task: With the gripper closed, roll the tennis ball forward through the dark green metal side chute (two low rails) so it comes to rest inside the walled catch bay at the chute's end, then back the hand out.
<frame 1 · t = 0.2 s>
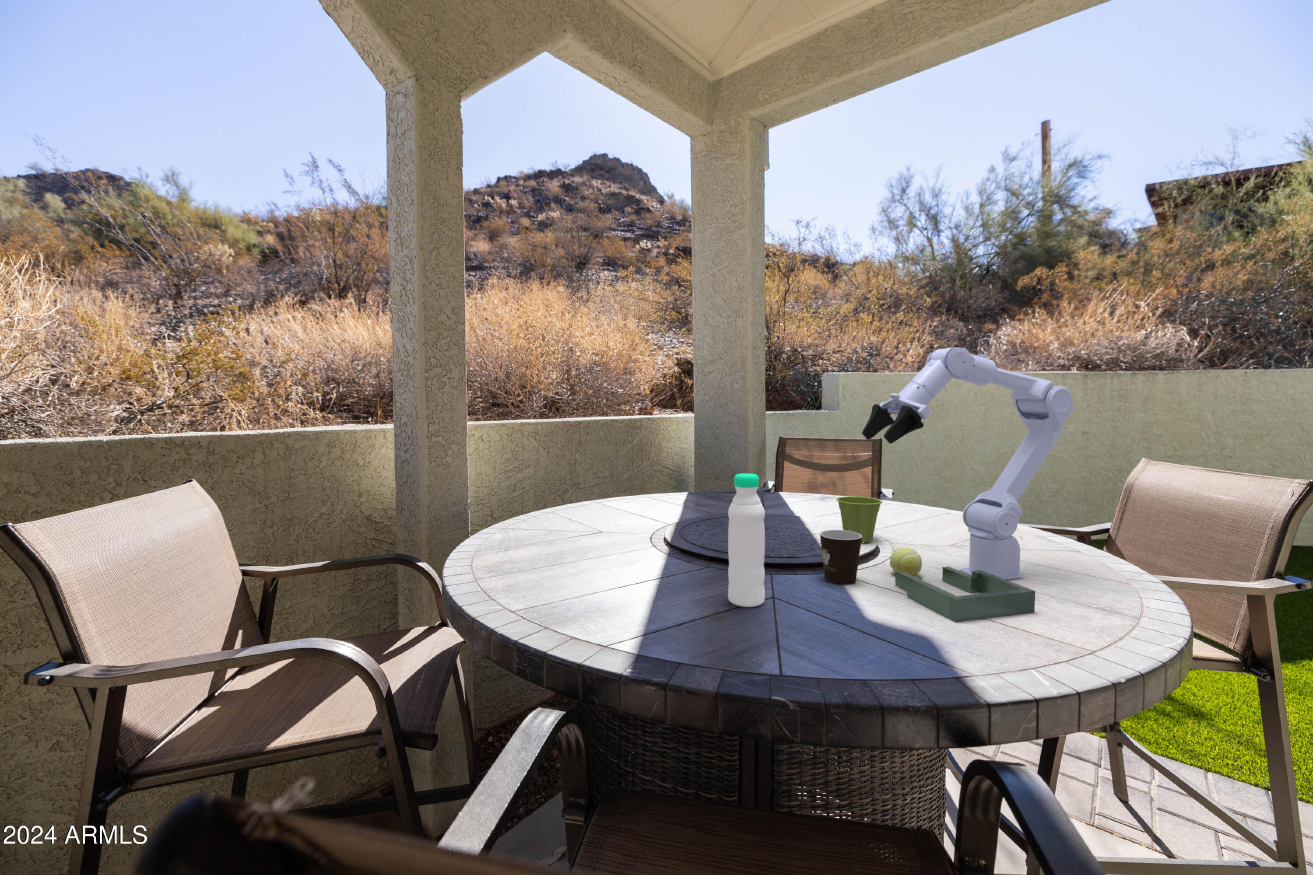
hand: (875, 438, 120), 31 cm above the table, tool tilted 45°, fingers open, 7 cm apart
coffee mug: (839, 578, 127), on the table
tennis ball: (905, 575, 129), on the table
plant pot: (858, 541, 159), on the table
water bottle: (746, 602, 114), on the table
chute bay: (953, 597, 115), on the table
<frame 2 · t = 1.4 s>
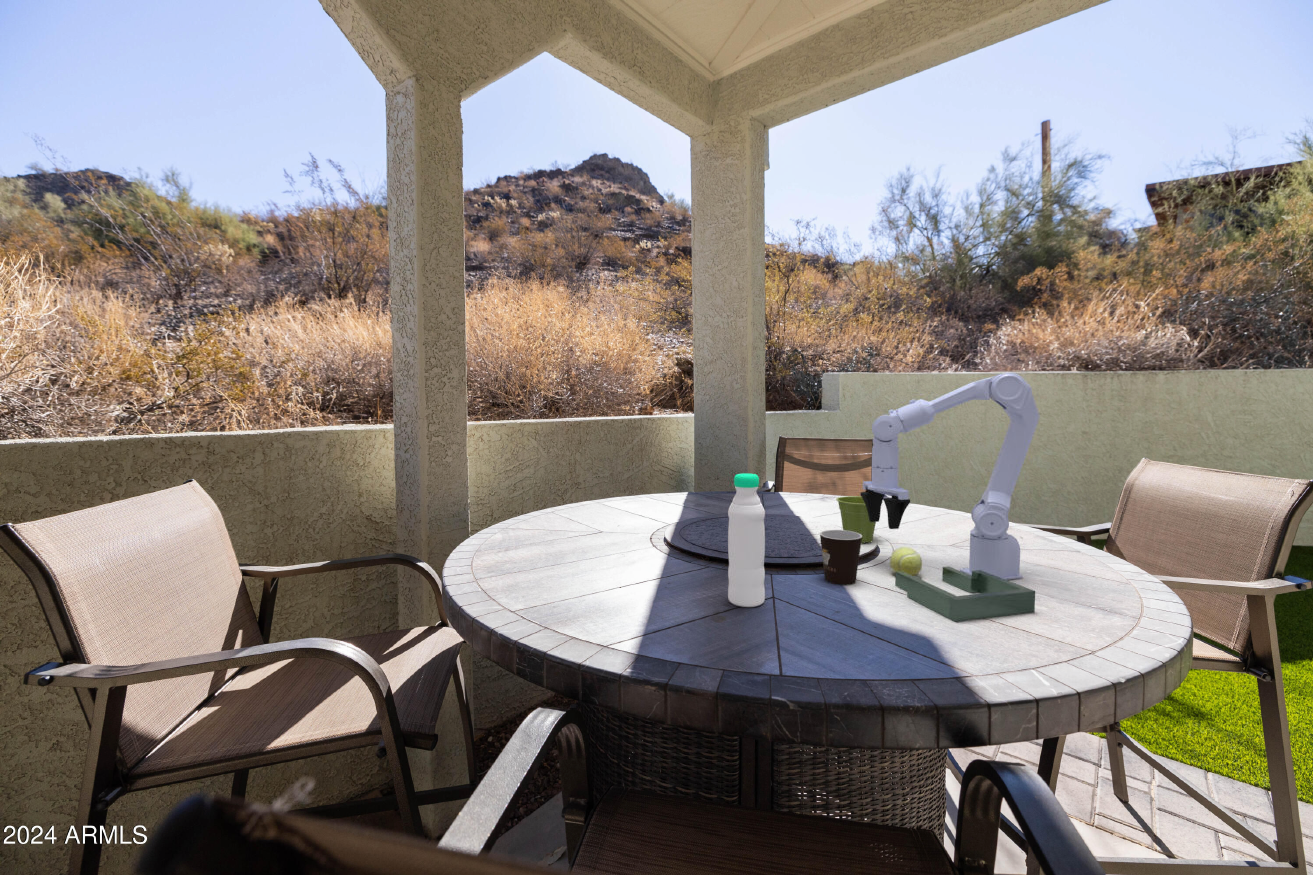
hand: (883, 525, 136), 9 cm above the table, tool pointing down, fingers open, 7 cm apart
nothing on the table moved.
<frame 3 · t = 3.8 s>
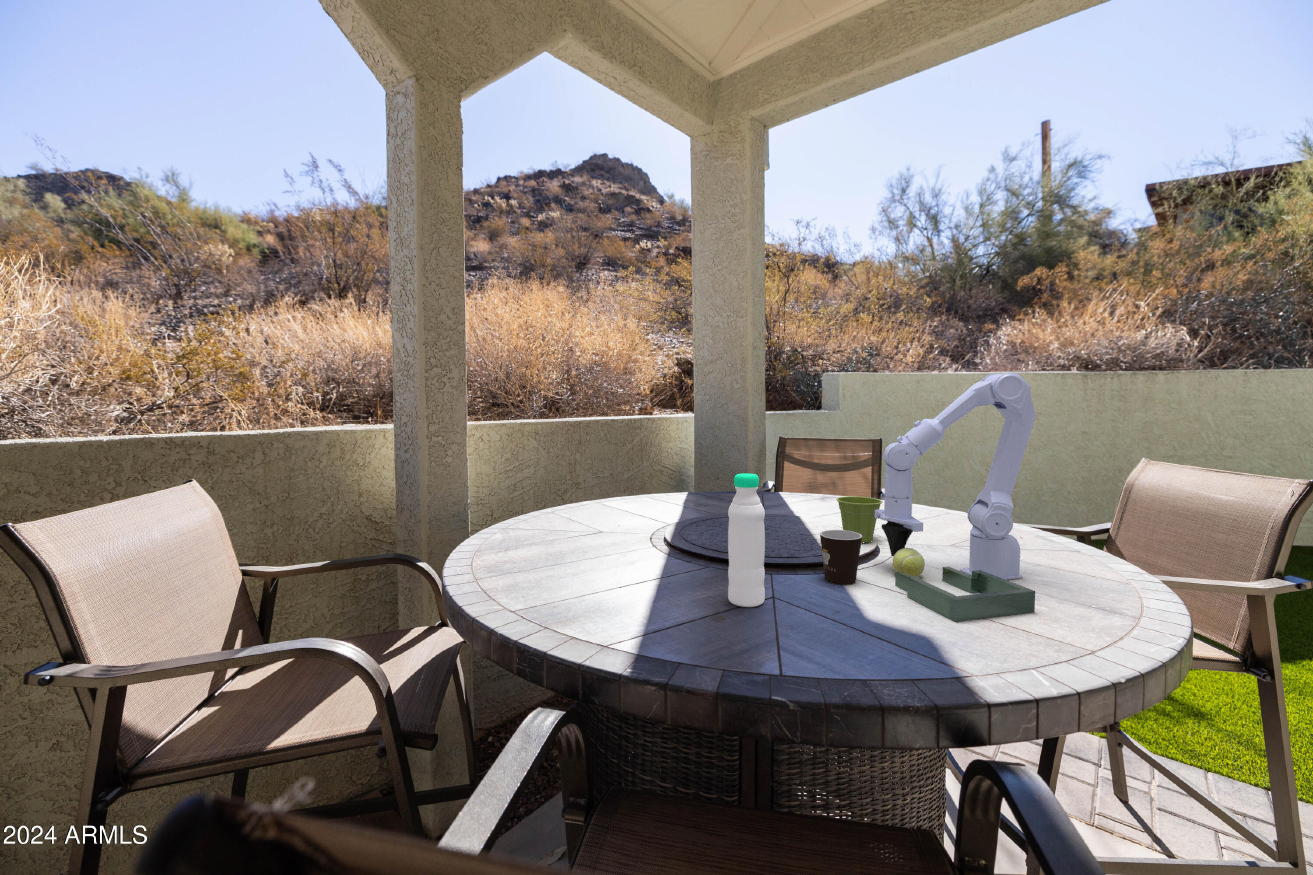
hand: (896, 556, 132), 3 cm above the table, tool pointing down, fingers closed
tennis ball: (907, 577, 128), on the table, touching gripper
everything else where it was.
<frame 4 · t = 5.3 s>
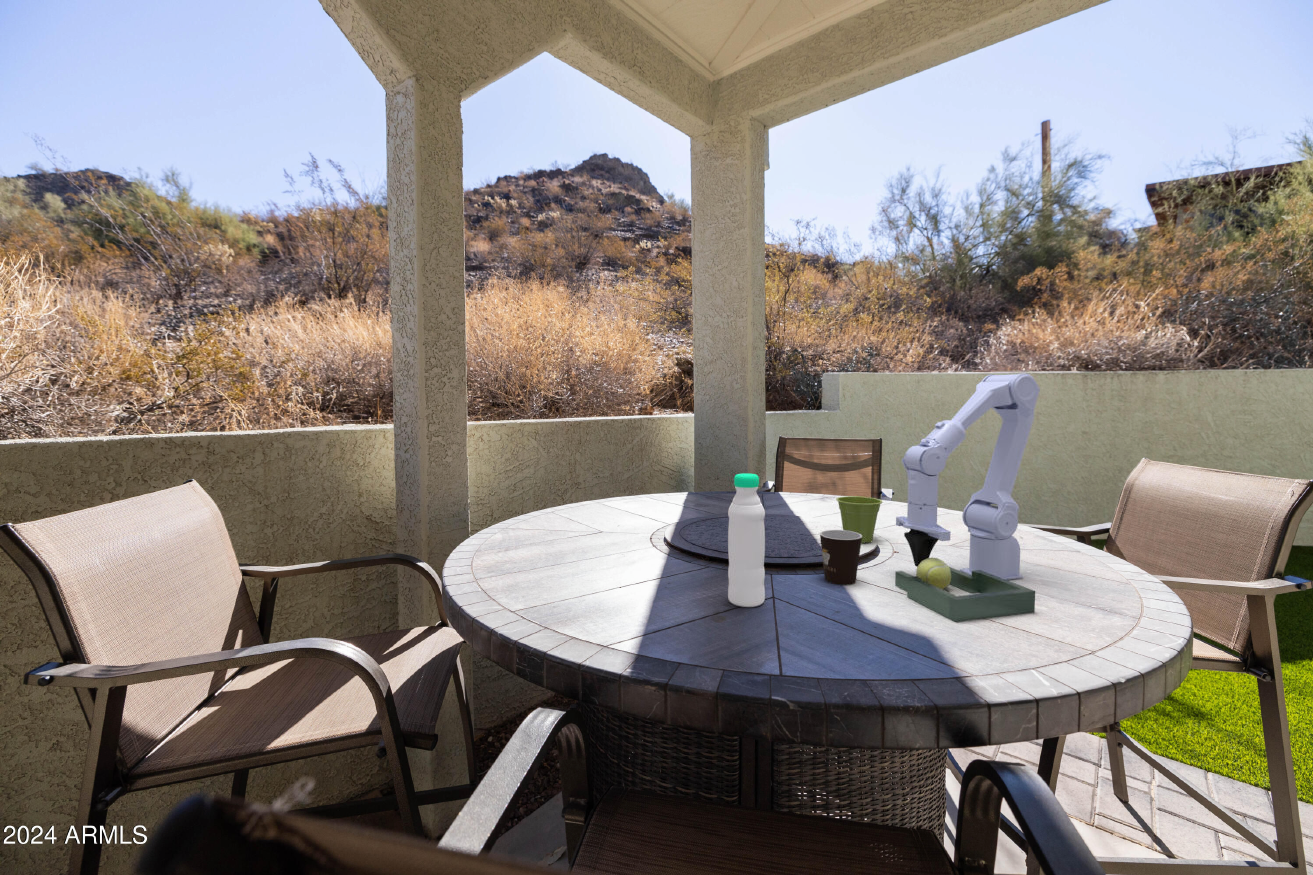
hand: (920, 566, 124), 3 cm above the table, tool pointing down, fingers closed
tennis ball: (932, 588, 120), on the table, touching gripper
everything else where it was.
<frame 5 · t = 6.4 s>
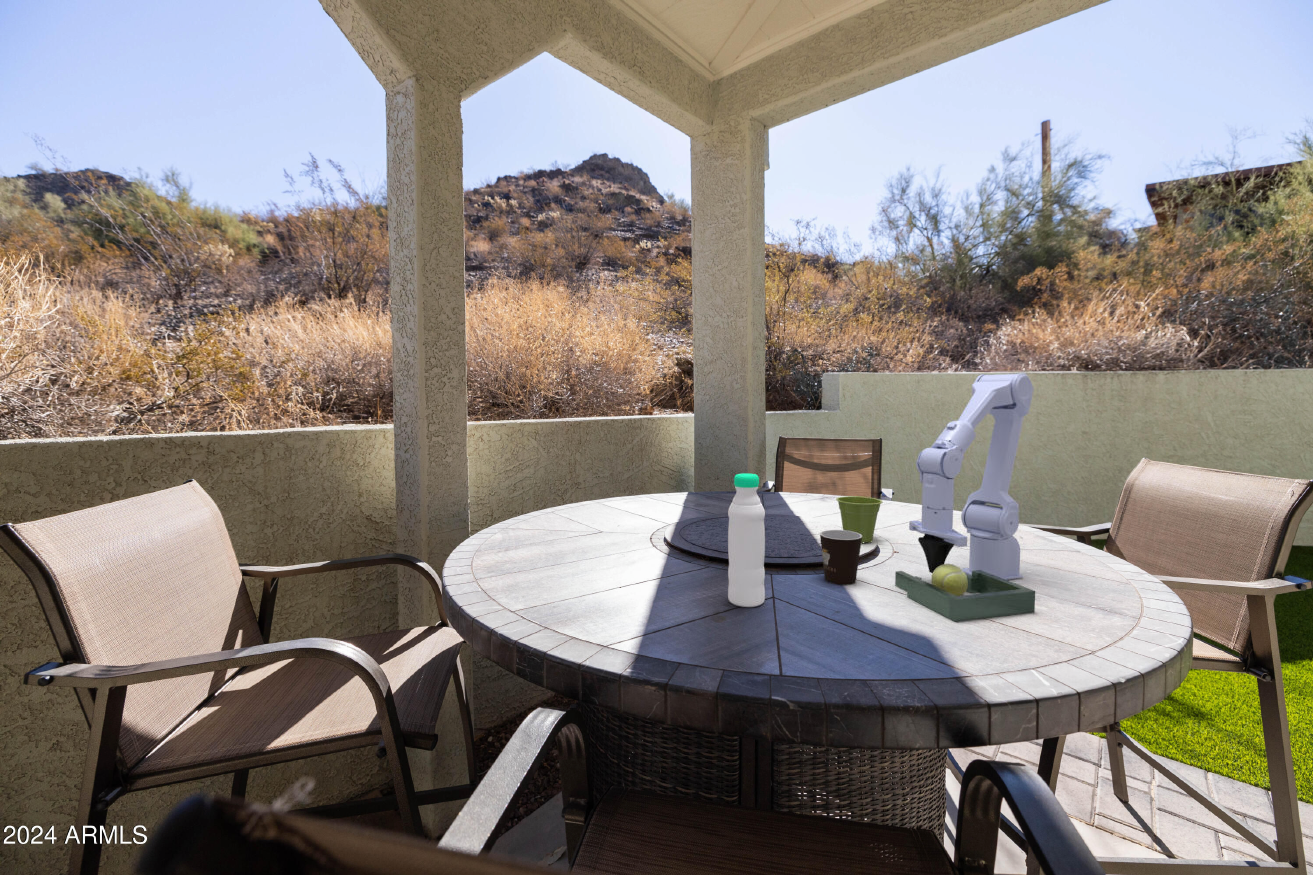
hand: (935, 572, 119), 3 cm above the table, tool pointing down, fingers closed
tennis ball: (948, 596, 116), on the table, touching gripper
everything else where it was.
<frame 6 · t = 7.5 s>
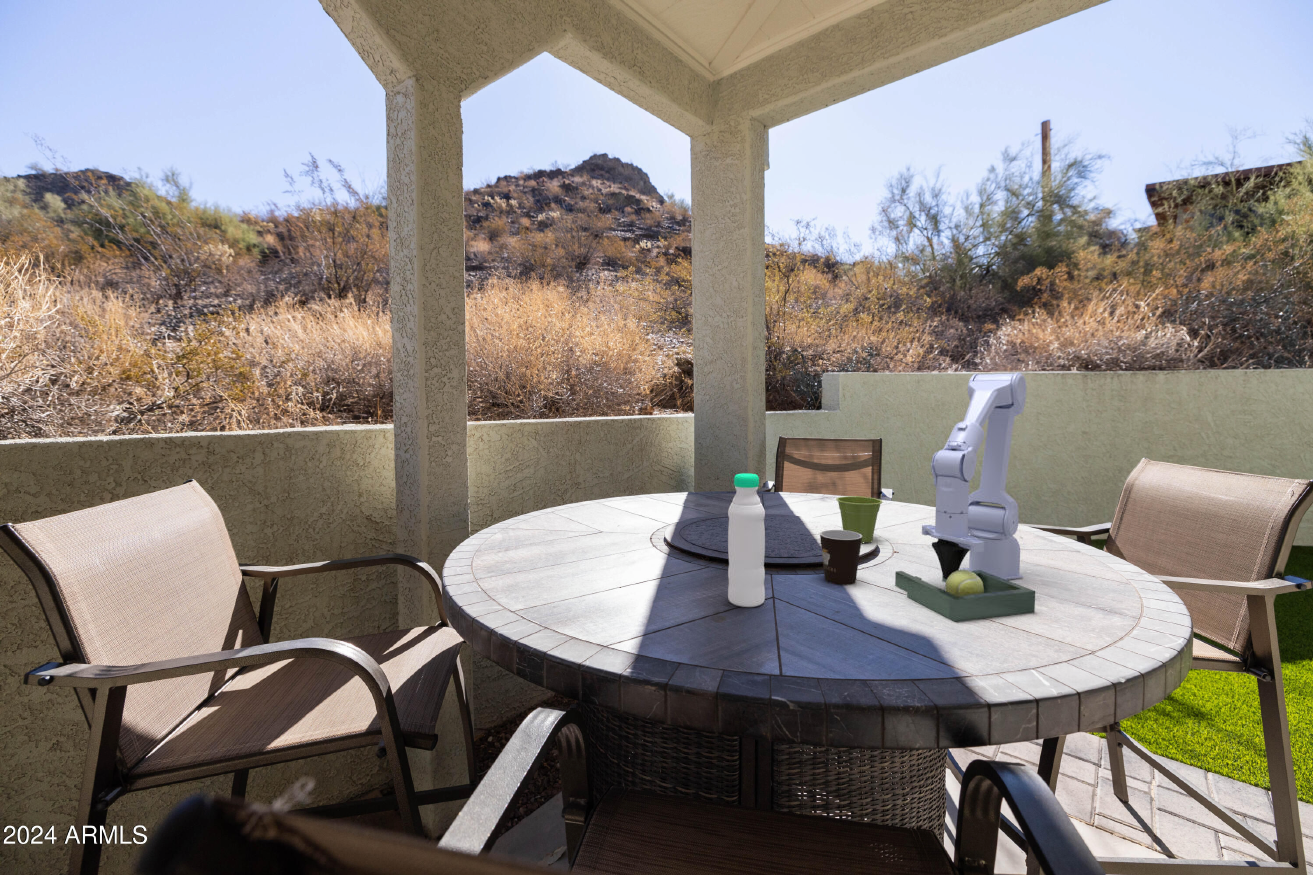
hand: (949, 578, 116), 3 cm above the table, tool pointing down, fingers closed
tennis ball: (963, 603, 112), on the table, touching gripper
everything else where it was.
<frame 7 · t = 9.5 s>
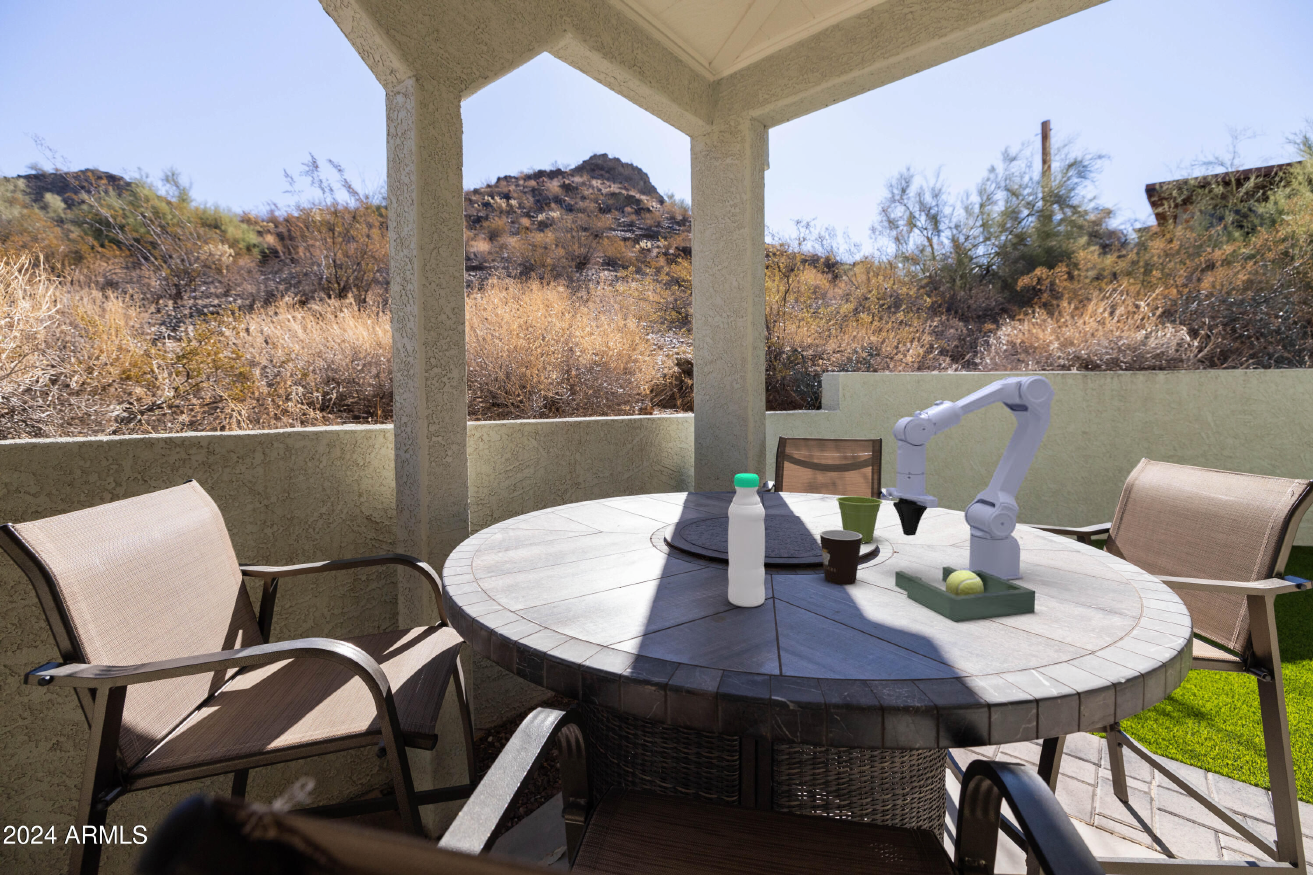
hand: (909, 534, 127), 9 cm above the table, tool pointing down, fingers closed
tennis ball: (963, 603, 112), on the table
everything else where it was.
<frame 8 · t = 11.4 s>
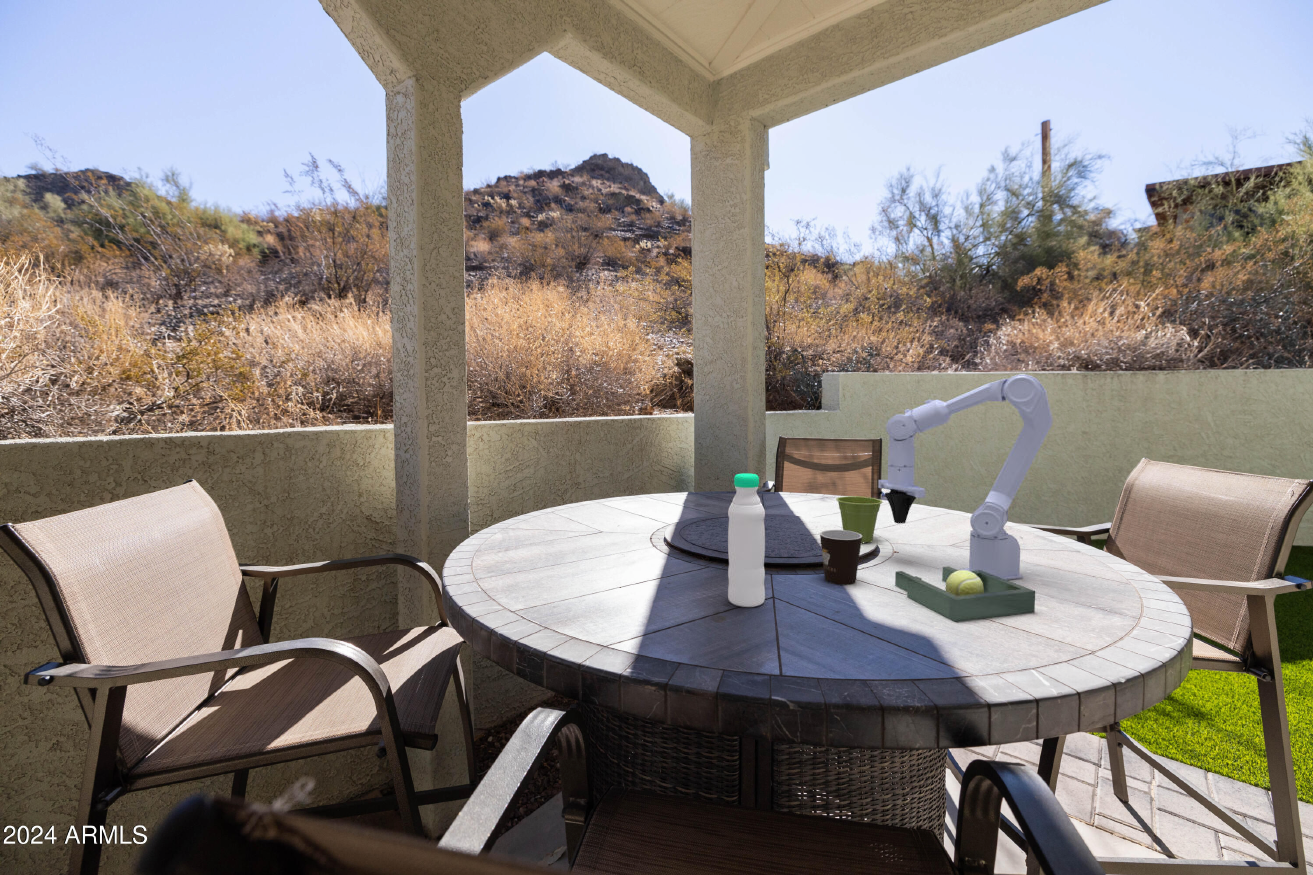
hand: (899, 522, 138), 9 cm above the table, tool pointing down, fingers closed
nothing on the table moved.
at the end: tennis ball inside the target area on the chute bay (0.4 cm from its centre), point 0.0 cm above the chute bay's base; tennis ball moved 17.4 cm from its start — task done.
